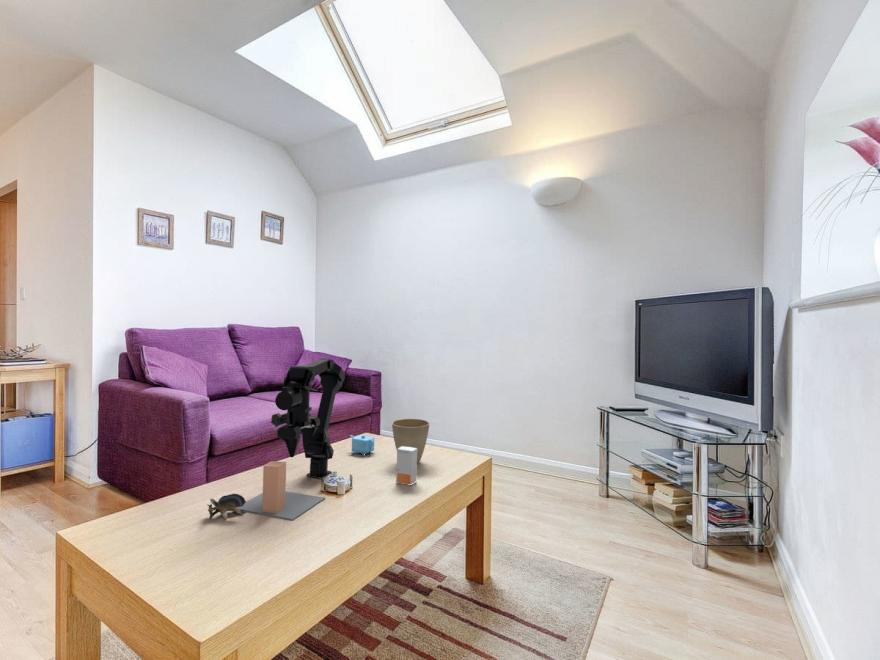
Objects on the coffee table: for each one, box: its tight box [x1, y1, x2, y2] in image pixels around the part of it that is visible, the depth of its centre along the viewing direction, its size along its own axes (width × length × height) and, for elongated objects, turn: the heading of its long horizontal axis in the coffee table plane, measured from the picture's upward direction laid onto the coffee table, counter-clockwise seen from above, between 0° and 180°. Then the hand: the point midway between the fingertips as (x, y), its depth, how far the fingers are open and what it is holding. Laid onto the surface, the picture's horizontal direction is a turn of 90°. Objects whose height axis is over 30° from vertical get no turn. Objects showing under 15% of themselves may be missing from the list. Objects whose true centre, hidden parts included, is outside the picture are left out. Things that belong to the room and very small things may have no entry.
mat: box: [237, 490, 326, 521], centre depth 129 cm, size 16×20×1 cm
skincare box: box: [395, 446, 418, 485], centre depth 149 cm, size 6×4×12 cm
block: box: [262, 460, 287, 513], centre depth 124 cm, size 4×4×13 cm
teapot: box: [349, 434, 375, 456], centre depth 183 cm, size 12×6×8 cm, turn 64°
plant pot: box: [391, 418, 430, 463], centre depth 171 cm, size 15×15×16 cm
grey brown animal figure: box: [207, 493, 247, 521], centre depth 120 cm, size 8×7×9 cm
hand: (298, 453), depth 140 cm, fingers open, 9 cm apart
